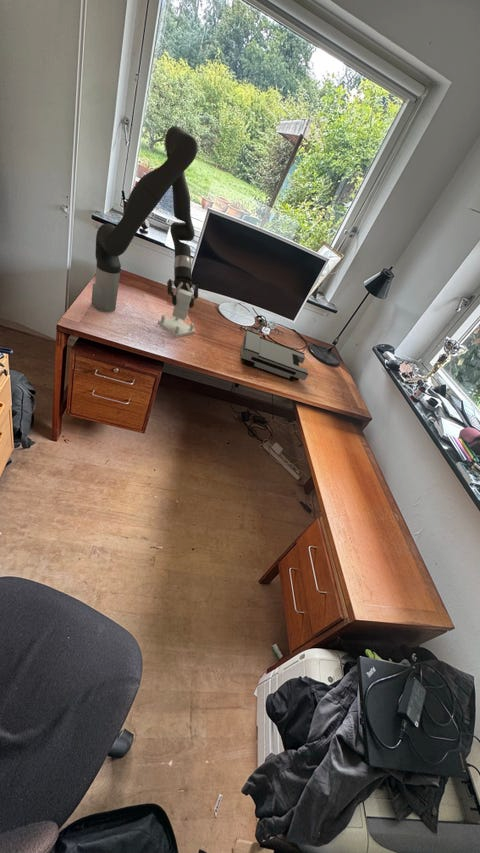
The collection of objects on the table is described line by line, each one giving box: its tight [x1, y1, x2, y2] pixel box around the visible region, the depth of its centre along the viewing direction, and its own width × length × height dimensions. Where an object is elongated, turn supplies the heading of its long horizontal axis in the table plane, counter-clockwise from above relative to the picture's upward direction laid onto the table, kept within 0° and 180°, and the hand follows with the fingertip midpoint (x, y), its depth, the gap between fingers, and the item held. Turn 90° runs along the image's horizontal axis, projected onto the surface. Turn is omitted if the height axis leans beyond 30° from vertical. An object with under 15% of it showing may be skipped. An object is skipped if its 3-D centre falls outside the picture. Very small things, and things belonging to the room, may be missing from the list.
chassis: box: [157, 314, 196, 338], centre depth 159 cm, size 12×12×4 cm
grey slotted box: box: [240, 329, 309, 382], centre depth 166 cm, size 21×32×8 cm, turn 87°
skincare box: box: [172, 289, 194, 321], centre depth 153 cm, size 6×4×12 cm
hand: (183, 306), depth 152 cm, fingers closed on skincare box, 7 cm apart
